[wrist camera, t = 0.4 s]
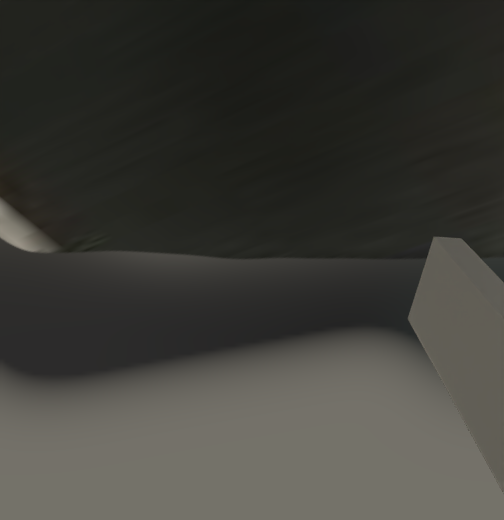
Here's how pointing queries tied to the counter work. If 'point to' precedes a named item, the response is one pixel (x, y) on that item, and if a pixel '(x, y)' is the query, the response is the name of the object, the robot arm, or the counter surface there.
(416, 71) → the counter surface
